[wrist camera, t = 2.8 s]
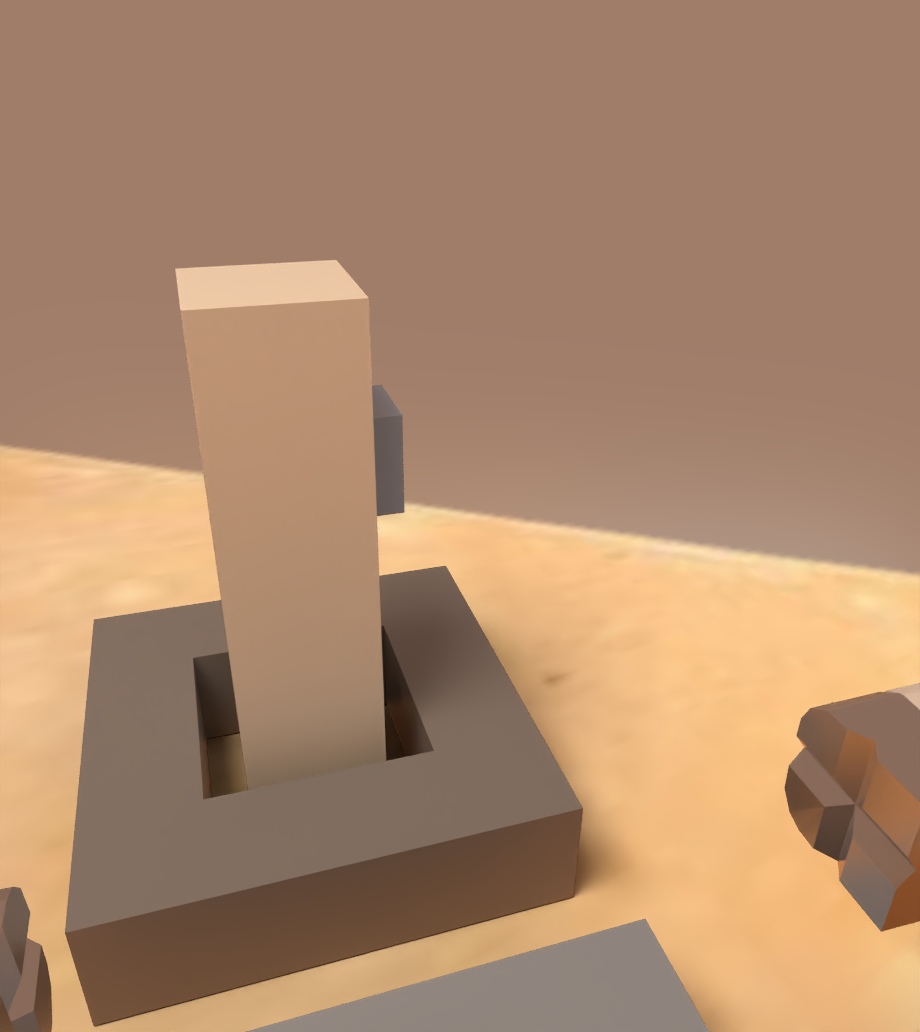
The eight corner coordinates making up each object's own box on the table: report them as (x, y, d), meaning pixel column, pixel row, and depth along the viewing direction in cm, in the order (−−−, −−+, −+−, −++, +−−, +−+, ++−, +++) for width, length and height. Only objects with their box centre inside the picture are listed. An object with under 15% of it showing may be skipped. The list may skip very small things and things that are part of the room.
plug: (255, 847, 23) (180, 310, 16) (243, 755, 26) (175, 268, 19) (416, 811, 24) (408, 295, 17) (387, 726, 27) (371, 257, 20)
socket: (93, 1026, 19) (65, 932, 17) (111, 698, 28) (93, 619, 26) (573, 897, 21) (582, 808, 20) (445, 639, 31) (445, 565, 29)
